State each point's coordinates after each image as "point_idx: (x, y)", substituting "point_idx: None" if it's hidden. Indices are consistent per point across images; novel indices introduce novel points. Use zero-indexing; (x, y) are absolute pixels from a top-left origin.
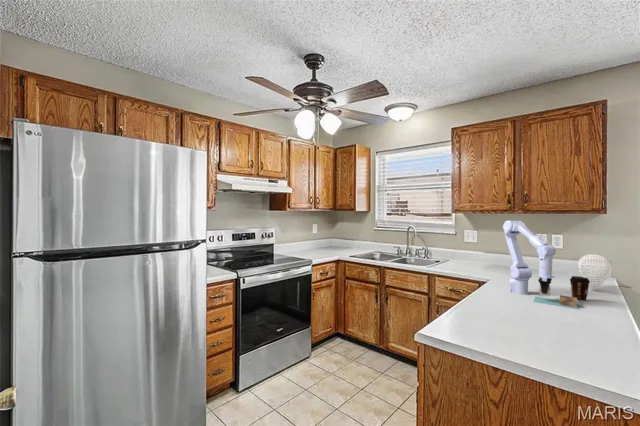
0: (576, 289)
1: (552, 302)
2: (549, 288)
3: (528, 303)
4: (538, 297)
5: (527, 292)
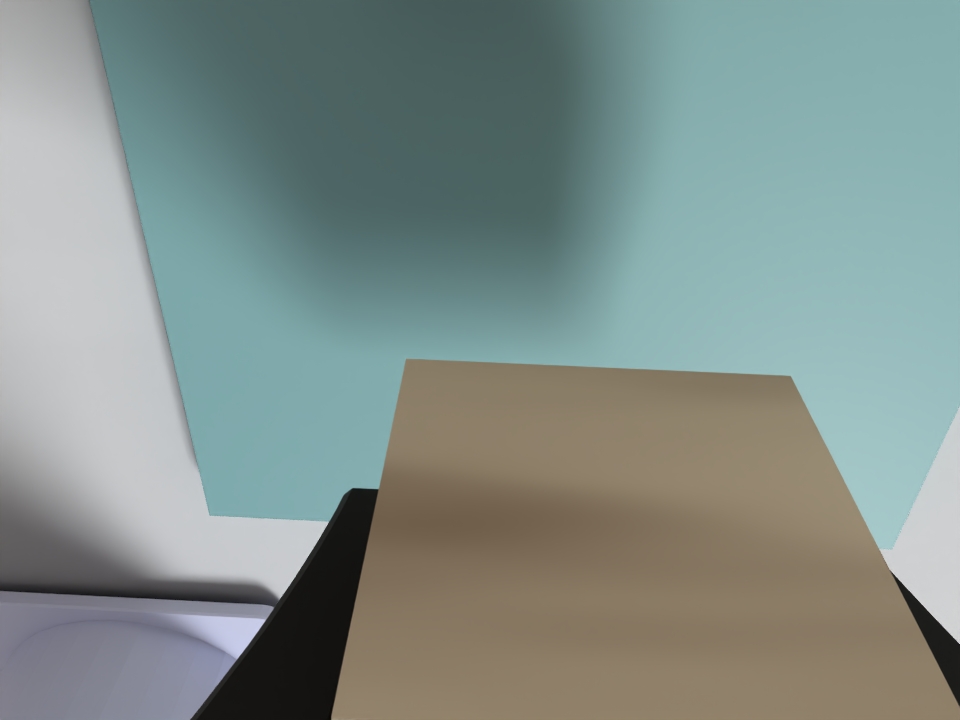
0: None
1: (674, 152)
2: (913, 657)
3: (946, 585)
4: (281, 464)
5: (129, 672)
